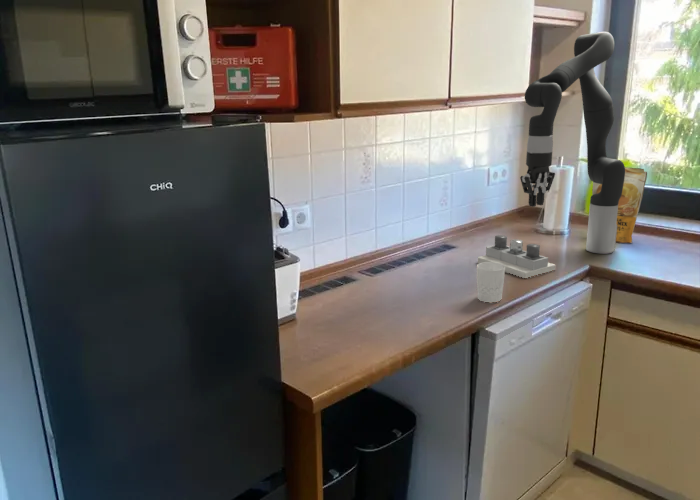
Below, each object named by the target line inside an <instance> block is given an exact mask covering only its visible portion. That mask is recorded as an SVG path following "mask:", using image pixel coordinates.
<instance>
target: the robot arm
mask: <svg viewBox="0 0 700 500" xmlns="http://www.w3.org/2000/svg"><path fill="white" fill-rule="evenodd" d="M573 45H574V46H573V54H574V57H572V58H570V59H567V60H566V61H564V62H562V63H561V64H559V65H558V66H556V68H554V69H553V70H552V71H551V72H550V73H548V74H547V75H543V76H542V77H540V78H538V79H536V80H535V81H533V82H531V83H530V84H529V85H528V86H527V88H526V90H525V92H524V101H525V103H526V105H528V106H529V107H532V108H543V110H542V112H541V113H539V114H537V115H533V116H531V117H530V119H529V124H528V137H527V143H526V158H525V159H526V160H525V162H526V163H525V165H526V166H527V171H526V174H525V175H521V176H520V177H519V178H520V182H521V186H522V189H523V193H525V194H528V206H529V207H533V208H534V207H536V206H544V202H545V195H546V193H547V191H550V190H551V187H552V184H553V182H554V178H555V176H556V173H555V172H553V171H550V167H551V166H552V165H553V164H552V163H553V152H554V151H553V148H554V140H553V139H554V124H555V119H556V115H557V113H558V111H559V107H560V103H561V102H562V97H563V93H564V92H565V91H567V89H569V87H571V86H572V85H573V84H574V83H575V82H576V81H577V80H579V85H580V91H581V92H580V93H581V98H582V99H581V101H582V109H583V110H582V111H583V112H582V113H583V119H584V125H585V126H584V127H585V134H586V135H585V136H586V137H585V138H586V147H587V149H586V150H587V152H586V153H587V155H586V157H587V162H586V163H587V166H586V167H587V175H588V178H589V180H590V181H591V182H592V183H593V182H594V183H598V184H602V187H601V191H600V192H599V193H597V194H593V195H590V200H589V211H588V213H589V214H588V223H587V224H588V225H587V235H586V244H585V250H586V251H588V252H589V253H593V254H601V255H603V254H611V253H614V251H615V249H616V243H617V242H616V234H617V224H616V222H617V213H618V203H619V199H620V197H621V195H622V190H623V184H624V178H625V167H626V166H625V164H624V162H623V161H622V160H620V159H617V158H610V157H608V156H607V155H608V154H607V149H606V147H607V146H606V143H607V138H608V136H609V134H610V132H611V129H612V128H613V127H612V126H613V125H614V120H615V114H614V103H613V99H612V97H611V95H610V94H609V92H608V91H607V90H606V88H605V87H604V86H603V85H602V83H601V82H600V81H599V79H598V78H597V77H598V76H597V75H596V73H595V68H596V67H598V66H599V65H600V64H602V63H605V62H606V61H608V60H609V59H610V58H611V57H612V55H613V53H614V52H615V51H614V50H615V39H614V37H613V35H612V34H611V33H610V32H608V31H599V32H598V31H597V32H593V33H587V34H581V35H579V36H577V38H576V39H575V40H574V44H573Z"/></svg>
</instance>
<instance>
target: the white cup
mask: <svg viewBox="0 0 700 500" xmlns="http://www.w3.org/2000/svg"><path fill="white" fill-rule="evenodd" d="M505 273H506V272H505V266H504V265H503V264H500V263H495V262H483V263H477V265H476V290H477V300H478V299H479V300H480V301H479V300H478V301H479V302H481V301H484V302H483V303H485V302H496V301H500V300H501V299H502V300H503V292H504V291H503V290H504V283H505ZM502 300H501V301H502ZM501 301H500V302H501Z"/></svg>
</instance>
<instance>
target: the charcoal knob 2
mask: <svg viewBox="0 0 700 500" xmlns="http://www.w3.org/2000/svg"><path fill="white" fill-rule="evenodd" d="M540 249H541V246H540V244H537V243H528V244H526V251H527V252H526V256H527V257H530V258H537V257H539V255H540Z"/></svg>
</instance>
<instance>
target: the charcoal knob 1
mask: <svg viewBox="0 0 700 500" xmlns="http://www.w3.org/2000/svg"><path fill="white" fill-rule="evenodd" d="M494 245H495V247H496V248H506V247H507V246H508V236H507V235H503V234H497V235H494Z"/></svg>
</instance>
